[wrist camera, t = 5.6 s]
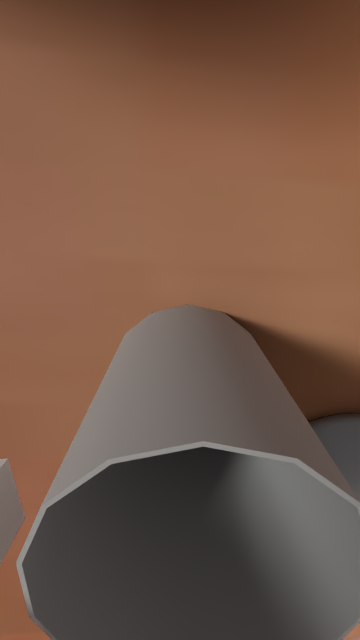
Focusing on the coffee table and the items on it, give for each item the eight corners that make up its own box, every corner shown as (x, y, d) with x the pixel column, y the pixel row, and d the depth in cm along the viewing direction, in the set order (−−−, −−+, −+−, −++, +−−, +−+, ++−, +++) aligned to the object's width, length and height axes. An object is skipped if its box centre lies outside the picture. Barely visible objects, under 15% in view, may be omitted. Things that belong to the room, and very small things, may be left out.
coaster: (242, 420, 17) (245, 429, 16) (451, 406, 17) (465, 414, 16) (244, 563, 21) (247, 576, 20) (416, 553, 21) (425, 566, 20)
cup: (284, 325, 16) (451, 487, 6) (239, 450, 18) (308, 705, 8) (124, 290, 15) (28, 408, 5) (101, 425, 17) (7, 669, 8)
